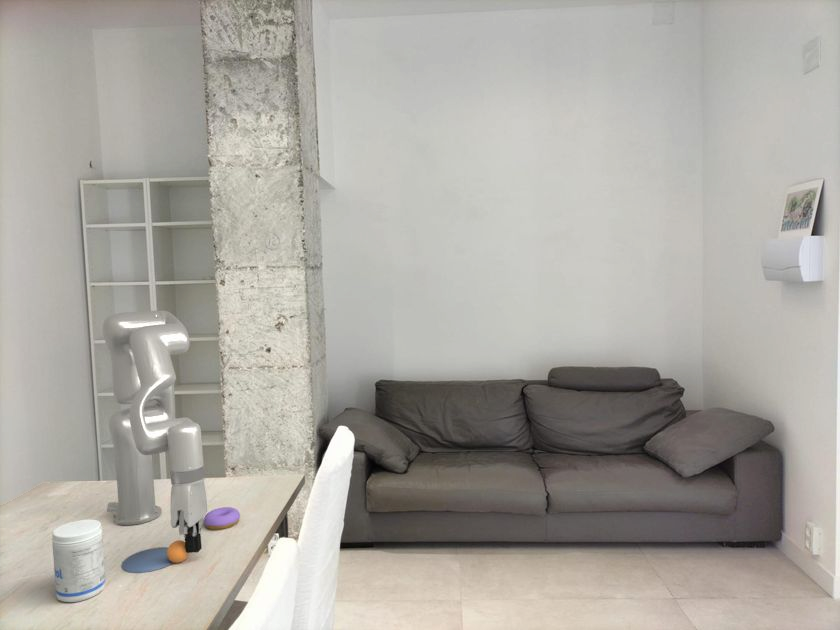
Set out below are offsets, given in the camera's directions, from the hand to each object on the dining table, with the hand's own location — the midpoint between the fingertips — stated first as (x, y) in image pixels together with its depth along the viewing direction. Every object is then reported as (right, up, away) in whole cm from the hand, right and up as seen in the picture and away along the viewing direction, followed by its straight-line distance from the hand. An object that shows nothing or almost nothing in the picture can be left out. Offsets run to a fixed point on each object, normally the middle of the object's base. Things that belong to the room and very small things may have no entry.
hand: (193, 551), depth 149 cm
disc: (-11, -3, +2) cm, 12 cm away
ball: (-4, 0, +1) cm, 4 cm away
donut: (0, -2, +23) cm, 23 cm away
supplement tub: (-20, -5, -13) cm, 24 cm away
